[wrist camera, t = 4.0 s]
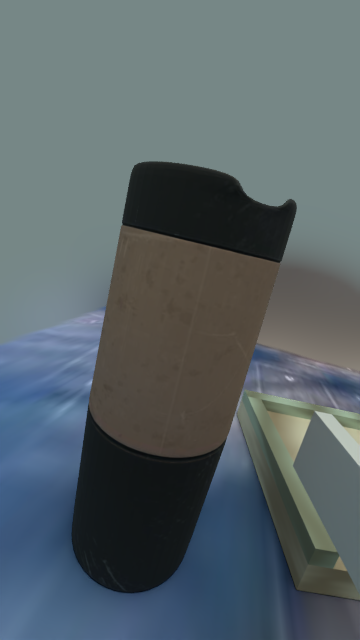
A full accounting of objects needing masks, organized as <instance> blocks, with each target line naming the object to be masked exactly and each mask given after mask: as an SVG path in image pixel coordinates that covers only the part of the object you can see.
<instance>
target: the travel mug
mask: <svg viewBox="0 0 360 640" xmlns="http://www.w3.org/2000/svg"><path fill="white" fill-rule="evenodd" d="M296 209H297V207H296V203H295V201H294V200H292V199H289V200H288V201H286V203H284V204H283V205H282V206H278V207H275V206H268V205H265V204H262V203H259V202H257V201H255V200H253V199H252V198H250V197H249V196H247V195H246V193H245V192H244V191H243V189H242V187H241V185H240V183H239V181H238V180H236V179H235V178H234V177H232V176H230V175H228V174H226V173H223V172H220V171H217V170H212V169H208V168H204V167H198V166H193V165H187V164H179V163H172V162H142V163H138V164H137V165H135V166H134V168H133V170H132V173H131V177H130V182H129V187H128V192H127V198H126V204H125V209H124V214H123V220H122V223H123V225H122V226H121V231H120V236H119V242H118V247H117V253H116V257H115V263H114V268H113V274H112V279H111V284H110V290H109V296H108V301H107V306H106V311H105V317H104V322H103V327H102V333H101V338H100V344H99V349H98V354H97V360H96V365H95V371H94V376H93V381H92V387H91V392H90V398H89V405H88V411H87V419H86V426H85V433H84V441H83V448H82V455H81V463H80V470H79V477H78V484H77V492H76V499H75V507H74V515H73V524H72V542H73V547H74V551H75V554H76V557H77V559H78V561H79V563H80V565H81V566H82V568H83V569H84V570H85V572H86V573H87V574H88V575H89V576H90V577H91V578H93V579H94V580H95V581H97V582H98V583H99V584H101V585H103V586H105V587H107V588H110V589H113V590H116V591H121V592H140V591H145V590H148V589H151V588H154V587H156V586H158V585H160V584H161V583H163V582H164V581H166V580H167V579H168V578H169V577H170V576H171V575H172V574H173V573H174V572H175V570H176V569H177V568H178V566H179V565H180V563H181V561H182V559H183V557H184V555H185V552H186V550H187V547H188V545H189V542H190V539H191V537H192V534H193V531H194V529H195V526H196V523H197V520H198V517H199V515H200V512H201V509H202V506H203V503H204V501H205V498H206V495H207V492H208V490H209V487H210V484H211V481H212V478H213V476H214V473H215V470H216V467H217V464H218V462H219V459H220V456H221V453H222V451H223V448H224V445H225V442H226V439H227V436H228V434H229V430H230V427H231V424H232V421H233V417H234V414H235V411H236V407H237V404H238V401H239V398H240V394H241V391H242V388H243V385H244V381H245V378H246V375H247V372H248V368H249V365H250V362H251V359H252V355H253V352H254V349H255V345H256V342H257V339H258V336H259V332H260V329H261V326H262V322H263V319H264V316H265V313H266V310H267V306H268V303H269V300H270V296H271V293H272V290H273V287H274V283H275V280H276V277H277V274H278V270H279V267H280V261H282V257H283V254H284V250H285V248H286V244H287V241H288V238H289V234H290V231H291V228H292V225H293V221H294V218H295V214H296Z"/></svg>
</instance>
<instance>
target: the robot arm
mask: <svg viewBox="0 0 360 640" xmlns="http://www.w3.org/2000/svg"><path fill="white" fill-rule="evenodd" d="M293 467H294V469H295V471H296V473H297V475H298V477H299V479H300V481H301V483H302V485H303V487H304V489H305V490H306V492H307V494H308V496H309V498H310V500H311V502H312V504H313V506H314V508H315V510H316V512H317V514H318V515H319V517H320V519H321V521H322V523H323V525H324V527H325V529H326V531H327V533H328V535H329V537H330V539H331V541H332V542H333V544H334V546H335V548H336V550H337V552H338V554H339V556H340V558H341V560H342V562H343V564H344V566H345V567H346V569H347V571H348V573H349V575H350V577H351V579H352V581H353V583H354V585H355V587H356V589H357V591H358V593H359V594H360V445H359V444H358V443H357V442H356V441H355V440H354V439H353V437H352V436H351V435H350V434H349V433H348V432H347V431H346V430H345V429H344V427H343V426H342V425H341V424H340V423H339V422H338V421H337V420H336V418H335V417H334V416H333V415H332V414H328V413H323V412H318V411H314V413H313V416H312V418H311V421H310V423H309V426H308V428H307V431H306V433H305V436H304V438H303V441H302V443H301V446H300V448H299V451H298V453H297V456H296V458H295V461H294V464H293Z"/></svg>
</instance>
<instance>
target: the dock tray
mask: <svg viewBox="0 0 360 640" xmlns="http://www.w3.org/2000/svg"><path fill="white" fill-rule="evenodd" d="M314 411H318V412H323V413H328V414H332V415H333V416H334V417H335V418H336V420H337V421H338V422H339V423H340V424H341V425H342V426H343V427H344V429H345V430H346V431H347V432H348V433H349V434H350V435H351V436H352V437H353V439H354V440H355V441H356V442H357V443H358V444H359V445H360V414H357V413H352V412H347V411H343V410H338V409H333V408H329V407H324V406H319V405H314V404H310V403H305V402H300V401H295V400H291V399H286V398H281V397H277V396H272V395H267V394H262V393H258V392H253V391H248V390H245V391H244V394H243V397H242V400H241V403H240V406H239V409H238V412H237V416H238V419H239V422H240V425H241V428H242V431H243V434H244V436H245V439H246V442H247V445H248V448H249V451H250V454H251V457H252V460H253V463H254V466H255V469H256V472H257V475H258V478H259V481H260V484H261V487H262V490H263V493H264V496H265V498H266V501H267V504H268V507H269V510H270V513H271V516H272V519H273V522H274V525H275V528H276V531H277V534H278V537H279V540H280V543H281V546H282V549H283V552H284V555H285V558H286V560H287V563H288V566H289V569H290V572H291V575H292V578H293V581H294V584H295V587H296V590H301V591H307V592H313V593H319V594H325V595H331V596H337V597H343V598H349V599H355V600H360V594H359V593H358V591H357V589H356V587H355V585H354V583H353V581H352V579H351V577H350V575H349V573H348V571H347V569H346V567H345V566H344V564H343V562H342V560H341V558H340V556H339V554H338V552H337V550H336V548H335V546H334V544H333V542H332V541H331V539H330V537H329V535H328V533H327V531H326V529H325V527H324V525H323V523H322V521H321V519H320V517H319V515H318V514H317V512H316V510H315V508H314V506H313V504H312V502H311V500H310V498H309V496H308V494H307V492H306V490H305V489H304V487H303V485H302V483H301V481H300V479H299V477H298V475H297V473H296V471H295V469H294V467H293V464H294V461H295V458H296V456H297V453H298V451H299V448H300V446H301V443H302V441H303V438H304V436H305V433H306V431H307V428H308V426H309V423H310V421H311V418H312V416H313V413H314Z"/></svg>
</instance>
